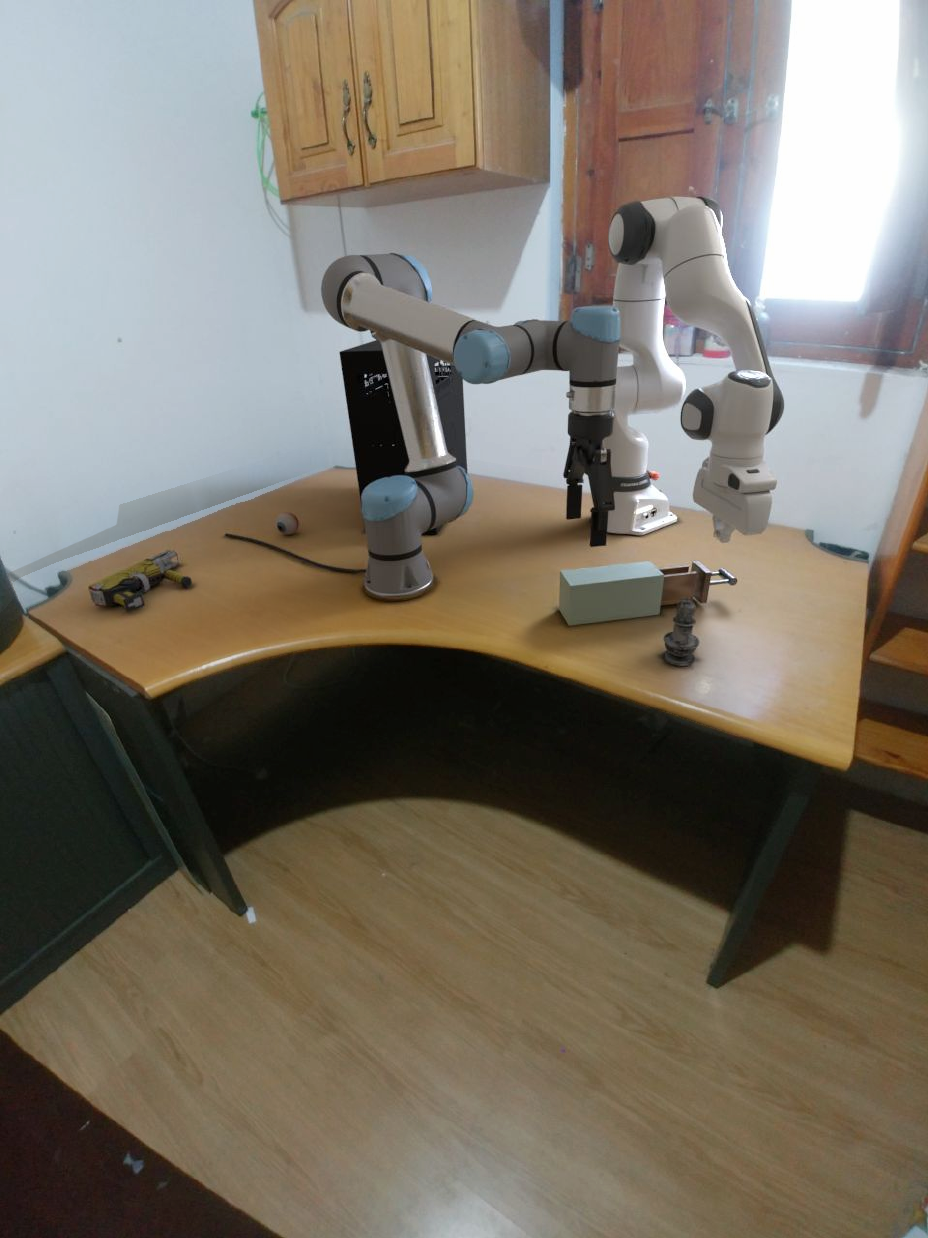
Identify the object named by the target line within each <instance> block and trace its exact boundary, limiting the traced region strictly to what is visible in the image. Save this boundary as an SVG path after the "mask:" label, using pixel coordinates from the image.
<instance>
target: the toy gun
mask: <svg viewBox="0 0 928 1238" xmlns="http://www.w3.org/2000/svg"><path fill="white" fill-rule="evenodd" d="M174 558H176V561H172V559H174ZM179 565H180V560H179V554H178V552H177V551H176V550H172V551H171V549H166V550H165V551H163V552H159V554H155V555H154V556H152V557H150V558H145V559H144V560H141V561H138V562H137V563H135V564H133V565H131V566H130V565H129V567H128V566H127V567H126V568H124V569H122V570H120V571H118V572H116V573H113V574H111V575H109V576H107V577H105V578H103V579H100V580H98V581H97V582H94V583H92V584H90V585H88V588H87V589H88V592H89V595H90V600H91V602H92V604H94V605H95V607H99V608H103V607H112V606H117V605H121V606H123V607H124V609H125V612H126V613H128V614H129V613H131V612H133V611H136V610H138V609H140V608H143V607H145V605H146V604H145V600H144V595H143V594H145V593H146V592H149V591H150V589H151V587H152V586H154V585H156V584H159V583H161V582H163V581H164V580H166V581H169V582H171V583H174V584H177V585H181V586H182V588H188V587H190V586H191V585H192V582H193V581H192V578H191V577H190V576H186V575H184V574H181V573H178V572H177V571H174V570H172V569H173V568H175V567H177V566H179Z"/></svg>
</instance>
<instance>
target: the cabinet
mask: <svg viewBox="0 0 928 1238" xmlns="http://www.w3.org/2000/svg"><path fill="white" fill-rule="evenodd" d="M658 568H659V567H657V566H656V564H654V563H653V562H652V561H651V560H643V561H635V562H626V563H625V562H624V563H616V564H608V565H599V566H598V565H597V566H591V567H581V568H573V569H565V570H564V569H563V570H560V571H559V589H558V590H559V595H558V610H559V612H560V614H561V616H562V617H563V619H564V620H565V622H566V623H567V626H579V625H586V624H595V623H602V622H610V621H617V620H618V621H619V620H625V619H626V620H627V619H634V618H642V617H651V616H658V615H660V612H661V606H662V605H661V598H662V590H663V582H664V574H663V573H662V572H661V571H660V570H659V569H658Z"/></svg>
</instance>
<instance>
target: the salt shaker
mask: <svg viewBox="0 0 928 1238" xmlns="http://www.w3.org/2000/svg"><path fill="white" fill-rule="evenodd" d="M685 599H686V600H682V601H680V602H679V603H677V606H676V611H675V616H674V617H673V618H672V622H673V629H672V631H668V632H666V633H665V634H664V635H663V637H662V641H663V642H664V646H665V649H666V650H664V652H663V653H662V658H663V660H665V662H667V663H669V664H671V665H673V666H679V667H686V666H687V667H688V666H691V665H692V664H693V663H694V662H695V661H696V657H695V655H694V653H695V651H696V650H697V649H698V647H699V645H700V639H699V638H698V637H697V636H696V635H694V634H693V628H694V626H695V625H696V623H697V621H696V619H695V614H696V608H697V606H696V604H695V601H690V600H689V599H690V598H689V597H688V596H687V597H686V598H685Z"/></svg>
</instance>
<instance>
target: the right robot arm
mask: <svg viewBox="0 0 928 1238" xmlns="http://www.w3.org/2000/svg"><path fill="white" fill-rule="evenodd" d="M721 209H722V208H721V207H720V204H719V203H718V202H717V201H716V200H714V199H713V198H709V197H705V196H696V197H690V196H667V197H664V198H655V199H649V200H643V201H639V200H633V201H630V202H627V203H625V204H623V205H620V206H619V207H618V208H617V209H616V210H615V212H614V214H613V215H612V217H611V219H610V223H609V227H608V232H607V233H608V234H607V235H608V237H607V238H608V239H607V242H608V243H607V244H608V250H609V253H610V255H611V257H612V259H613V260H614V261H615V262H617V263H618V266H617V270H616V275H615V281H614V288H613V298H612V299H613V300H612V306H615V307H617V308H618V309H619V311H620V336H621V339H620V341H619V348H621V349H623V350H624V351H627V352H629V353H631V354H632V355H631V356H632V364H631V365H623V366H622V365H621V366H617V375H616V377H617V378H616V383H617V388H616V403H615V408H614V409H613V410H611V411H612V412H613V413H614V425H613V433H612V435H611V436H609V437H606V438H604V439H603V441H602V442H603V448H604V449H610V450H611V472H612V482H613V492H614V503H615V510H613V511H608V524H607V533H611V534H623V535H625V534H626V535H632V536H633V535H634V536H645V535H646V534H650V533H652V532H654V531H657V530H660V529H662V528H665V527H668V526H670V525H672V524H675V523H677V522H678V516H677V515H676V514H675V513H674V512H672V511H670V503H669V502H670V501H669V498H668V497H667V496H666V495H665V494H664V493H663V492H662V490H661V489H658V488H656V487H655V486H654V485H652V483H651V480H653V481H658V479H659V478H660V473H659V472H657V471H654V470H651V471H649V470H648V469H647V466H648V458H649V457H648V456H649V447H650V443H649V440H648V438H647V437H646V435H645V434H644V433H643V432H640V431H639V430H637V429H636V428H633V427H631V426H629V422H628V418H629V417H630V416H634V415H648V414H659V413H662V412H666V411H670V410H673V409H675V408H677V407H678V406H679V405H680V404H681V402H682V401H683V399H684V396H685V393H686V388H687V382H686V377H685V374H684V372H683V370H682V369H681V368H680V367H679V366H678V365H676V364H675V363H674V362H673V361H672V360H671V358H670V356H669V354H668V352H667V350H666V347H665V343H664V337H663V336H664V335H663V330H664V329H663V327H664V312H665V301H666V304H667V307H668V309H669V311H670V313H671V314H672V315H673V316H674V318H676V319H677V320H678V321H680V322H681V323H683V324H684V325H687V326H690V327H693V328H697V329H700V330H703V331H706V332H708V333H711V334H712V335H715V336H717V337H719V339H721V340H722V341H723V342H724V343H725V344H726V346H727V347H728V349H729V352H730V356H731V359H732V362H733V365H734V369H735V370H733V371H730V372H728V373H726V375H725V376H724V377H723V378H722V379H721V380H719V381H717V382H715V383H712V384H709V385H705V386H702V387H698V388H695V389H693V390H692V391H690V392H689V394H688V395H687V396H686V398H685V399H684V401H683V403H682V405H681V409H680V426H681V429H682V430H683V432H684V433H685V434H686V435H687V436H688V437H689V438H690V439H692V440H695V441H703V442H704V441H709V442H711V448H710V450H709V456H708V457H706V458H705V459H704V460H703V461H702V463H701V467H700V468H699V469H698V471H697V473H696V477H695V481H694V485H693V490H692V499H693V500H692V501H693V502H694V503H695V504H697V505H698V506H699V507H701V508H703V510H706V511H707V512H709V513H710V514H712V519H711V521H712V525H713V538H714V539H716V540H717V541H719V542H720V543H722V544H726V543H727V544H728V543H729V542H730V541H731V537H732V534H733V533H734V531H737V532H738V533H740V534H741V535H743V536H757V535H761V534H763V533H764V532H765V531H766V529H767V527H768V524H769V519H770V516H771V510H772V506H773V505H772V504H773V494H772V493H771V491H774V490H776V488H777V486H778V485H777V484H778V479H777V477H776V476H775V475H774V474H773V472H772V471H771V470H770V469H769V467H768V466H767V463H766V462H765V461H764V460H763V459H764V454H765V446H764V441H765V437H766V436H767V435H768V434H769V433H771V432H772V431H773V430H774V429H775V427H776V426H777V425H778V424H779V422H780V421H781V418H782V417H783V414H784V411H785V400H784V395H783V392H782V390H781V388H780V386H779V384H778V382H777V381H776V378H775V377H774V374H773V370H772V368H771V365H770V362H769V358H768V354H767V351H766V347H765V344H764V343H765V342H764V340H763V337H762V333H761V330H760V326H759V323H758V320H757V317H756V313H755V311H754V309H753V306H752V303H751V302H750V301H749V299H748V298H747V297H746V296H745V295H743V294H742V292H741V291H740V290H739V288H738V287H737V286H736V284H735V282H734V280H733V278H732V275H731V272H730V269H729V266H728V259H727V253H726V247H725V242H724V238H723V236H722V235H723V234H722V228H723V214H722V210H721ZM603 504H605V503H603Z"/></svg>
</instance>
